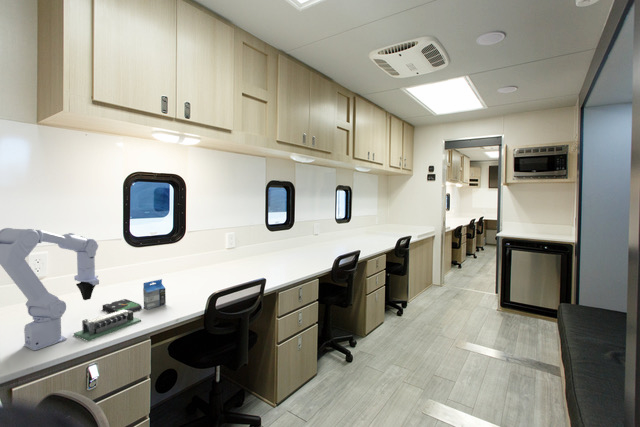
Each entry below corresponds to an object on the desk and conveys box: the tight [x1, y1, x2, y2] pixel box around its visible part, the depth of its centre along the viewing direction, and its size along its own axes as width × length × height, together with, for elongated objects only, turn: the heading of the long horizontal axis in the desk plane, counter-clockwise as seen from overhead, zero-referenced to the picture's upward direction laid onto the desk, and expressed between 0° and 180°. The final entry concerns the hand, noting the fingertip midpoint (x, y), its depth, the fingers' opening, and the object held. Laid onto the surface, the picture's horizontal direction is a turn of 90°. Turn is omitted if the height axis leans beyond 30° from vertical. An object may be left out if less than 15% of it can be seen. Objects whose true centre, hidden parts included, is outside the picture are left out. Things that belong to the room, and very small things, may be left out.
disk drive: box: [102, 298, 143, 314], centre depth 140 cm, size 10×3×15 cm
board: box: [73, 310, 142, 342], centre depth 121 cm, size 20×10×4 cm, turn 154°
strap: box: [84, 309, 128, 325], centre depth 120 cm, size 15×3×2 cm, turn 154°
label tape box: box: [142, 278, 167, 310], centre depth 145 cm, size 9×4×12 cm, turn 143°
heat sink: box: [81, 314, 127, 336], centre depth 119 cm, size 13×7×5 cm, turn 154°
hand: (86, 299), depth 124 cm, fingers closed
